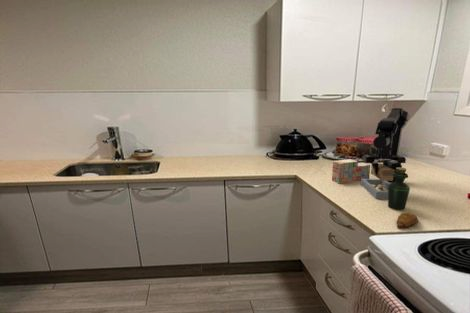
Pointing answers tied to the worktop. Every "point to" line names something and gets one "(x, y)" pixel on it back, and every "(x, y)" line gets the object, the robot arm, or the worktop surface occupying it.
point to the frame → (371, 187)
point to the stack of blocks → (349, 171)
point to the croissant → (406, 220)
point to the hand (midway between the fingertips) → (381, 175)
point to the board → (383, 173)
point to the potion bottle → (398, 190)
